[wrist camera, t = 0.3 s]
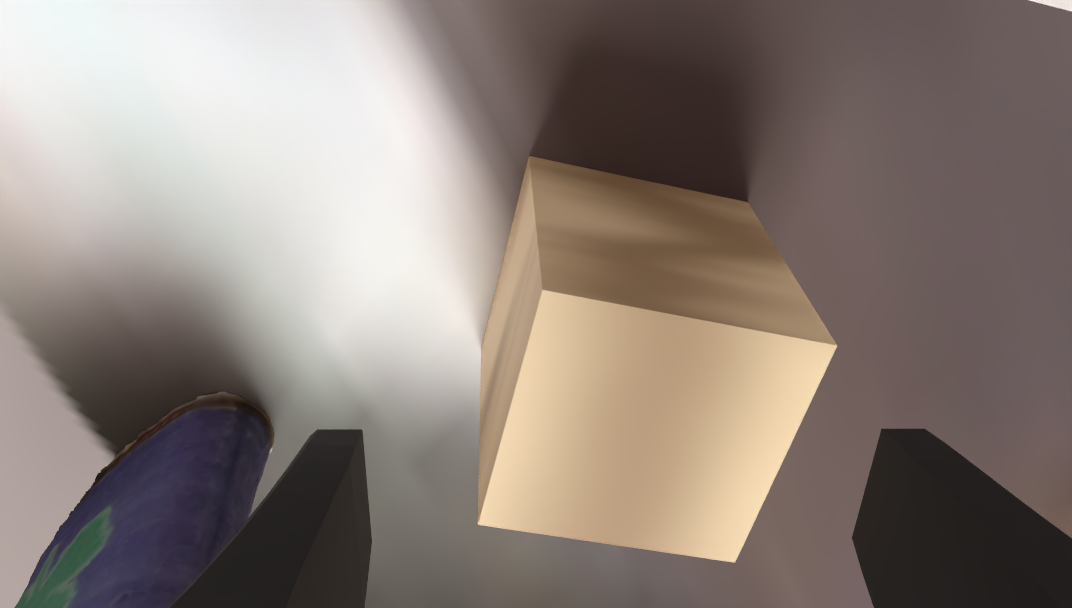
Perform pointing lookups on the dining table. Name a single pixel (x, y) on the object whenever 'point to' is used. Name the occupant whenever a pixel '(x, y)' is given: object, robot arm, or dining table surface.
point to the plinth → (1057, 3)
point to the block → (640, 365)
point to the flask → (158, 510)
